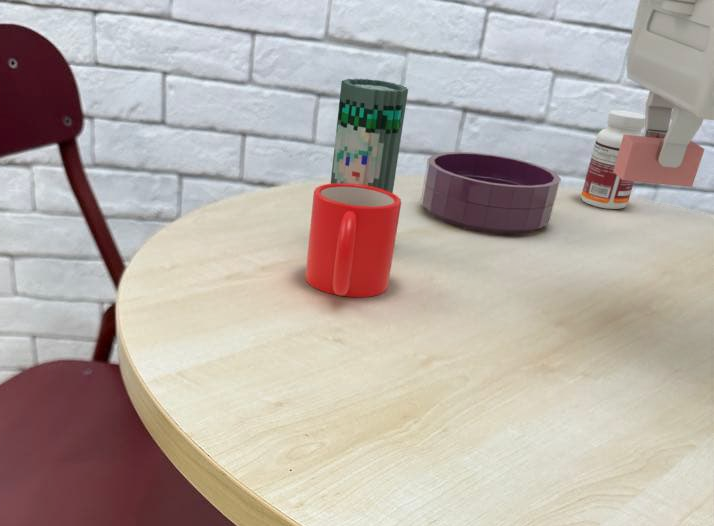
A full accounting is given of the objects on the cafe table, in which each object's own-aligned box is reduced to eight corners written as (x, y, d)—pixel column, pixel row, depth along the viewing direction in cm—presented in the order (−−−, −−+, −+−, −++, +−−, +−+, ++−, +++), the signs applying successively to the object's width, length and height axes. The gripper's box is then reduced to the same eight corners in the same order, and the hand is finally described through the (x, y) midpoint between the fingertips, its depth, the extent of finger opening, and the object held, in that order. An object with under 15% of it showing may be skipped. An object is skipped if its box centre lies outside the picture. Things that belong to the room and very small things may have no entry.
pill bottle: (617, 199, 117) (644, 111, 110) (632, 212, 112) (661, 121, 105) (574, 195, 116) (598, 106, 110) (587, 207, 111) (613, 116, 105)
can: (317, 244, 88) (334, 83, 79) (337, 229, 93) (355, 76, 84) (372, 256, 87) (395, 94, 78) (390, 241, 91) (414, 86, 82)
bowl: (535, 205, 110) (546, 160, 106) (559, 243, 97) (573, 193, 94) (415, 192, 109) (423, 146, 106) (425, 228, 97) (434, 177, 93)
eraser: (680, 178, 74) (692, 141, 72) (692, 187, 72) (704, 149, 70) (612, 171, 74) (623, 134, 72) (622, 180, 71) (633, 142, 70)
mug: (295, 307, 74) (304, 214, 69) (309, 262, 83) (318, 178, 79) (385, 318, 74) (400, 226, 69) (388, 272, 83) (402, 189, 79)
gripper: (823, -26, 55) (741, 195, 64) (712, -40, 72) (658, 137, 80) (729, -35, 55) (659, 187, 63) (639, -48, 72) (593, 130, 80)
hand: (658, 159), depth 72 cm, fingers closed on eraser, 3 cm apart
